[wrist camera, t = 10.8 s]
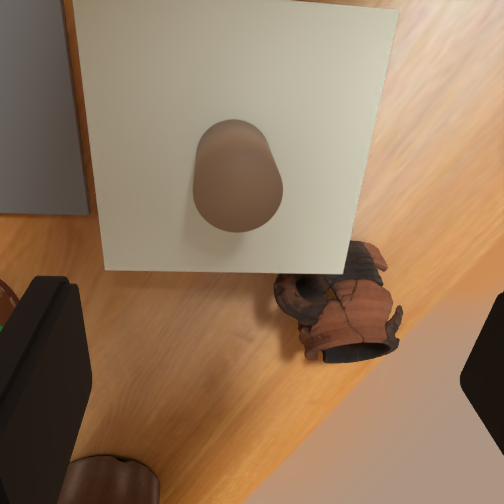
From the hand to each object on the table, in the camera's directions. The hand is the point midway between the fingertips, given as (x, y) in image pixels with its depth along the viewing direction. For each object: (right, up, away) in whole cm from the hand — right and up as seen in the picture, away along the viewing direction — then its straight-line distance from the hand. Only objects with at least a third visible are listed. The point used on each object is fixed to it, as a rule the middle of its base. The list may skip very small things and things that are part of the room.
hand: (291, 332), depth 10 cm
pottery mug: (+6, -1, +28) cm, 28 cm away
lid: (-2, +8, +15) cm, 17 cm away
